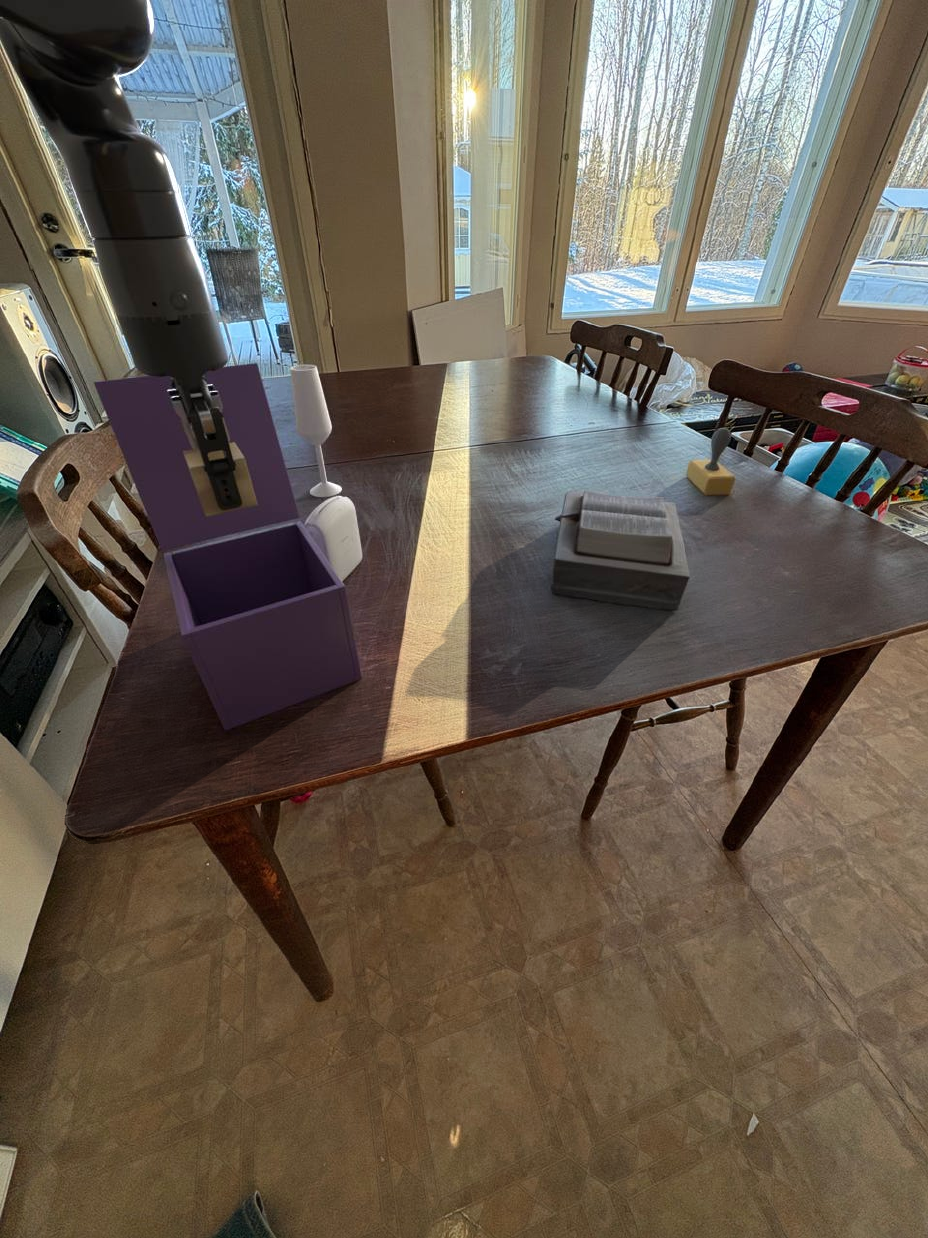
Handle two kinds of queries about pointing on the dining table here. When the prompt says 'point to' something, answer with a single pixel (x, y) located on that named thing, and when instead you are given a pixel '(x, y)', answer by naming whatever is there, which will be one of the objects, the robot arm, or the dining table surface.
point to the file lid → (160, 441)
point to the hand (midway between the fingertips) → (225, 495)
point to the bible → (620, 550)
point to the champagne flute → (312, 419)
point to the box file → (263, 621)
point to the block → (205, 486)
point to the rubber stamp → (713, 468)
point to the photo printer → (336, 534)
